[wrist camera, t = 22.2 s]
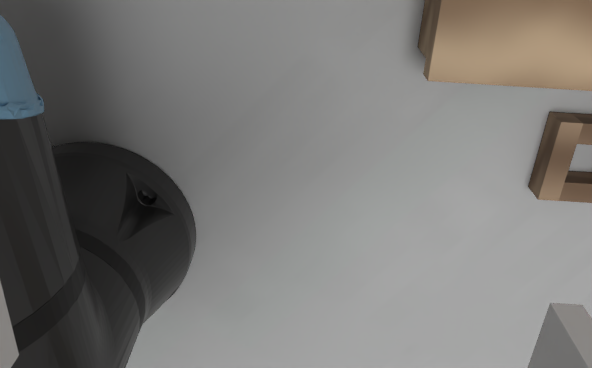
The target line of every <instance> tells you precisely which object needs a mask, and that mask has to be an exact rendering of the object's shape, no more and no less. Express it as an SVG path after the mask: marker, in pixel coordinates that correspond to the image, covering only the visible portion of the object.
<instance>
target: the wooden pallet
mask: <svg viewBox="0 0 592 368" xmlns="http://www.w3.org/2000/svg"><path fill="white" fill-rule="evenodd" d="M418 48H419V49H420V51H421V52H422V53H423V55H424V56H425V58H426V61H425V67H424V73H423V74H424V76H425V77H426V79H427V80H428V81H438V82H454V83H471V84H487V85H504V86H520V87H536V88H553V89H569V90H586V91H592V0H425V4H424V10H423V17H422V23H421V29H420V36H419V42H418ZM577 144H587V145H592V114H576V113H560V112H550V113H549V116H548V120H547V123H546V127H545V130H544V134H543V137H542V141H541V144H540V147H539V151H538V154H537V158H536V161H535V165H534V168H533V172H532V175H531V179H530V182H529V186H528V187H529V188H530V190H531V191H532V192H533V194H534V195H535V196H536V198H537V199H538V200H554V201H571V202H587V203H592V172H576V171H568V170H569V167H570V164H571V160H572V157H573V154H574V151H575V148H576V145H577Z"/></svg>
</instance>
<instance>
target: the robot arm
mask: <svg viewBox="0 0 592 368" xmlns="http://www.w3.org/2000/svg"><path fill="white" fill-rule="evenodd" d="M43 112H44V101H43V99H42V98H41V96H40V95H39V94H37V93H36V92H35V89H34V86H33V83H32V80H31V78H30V75H29V72H28V69H27V66H26V63H25V60H24V57H23V54H22V51H21V48H20V45H19V42H18V39H17V37H16V35H15V33H14V31H13V29H12V28H11V26H10V25H9V23H8V22H7V21H6V20H5V19H4V18H3V17H2V16H1V15H0V368H125V367H126V364H127V362H128V359H129V357H130V354H131V352H132V349H133V347H134V344H135V342H136V339H137V336H138V334H139V331H140V329H141V326H142V324H143V323H144V322H145V321H146V320H147V319H148V318H149V317H150V316H151V315H152V314H153V313H154V312H155V311H156V310H157V309H158V308H159V307H160V306H161V305H162V304H163V303H164V302H165V301H166V300H168V299H169V298H170V297H171V296H172V295H173V294H174V293H175V292H176V290H177V289H178V288H179V286H180V285H181V283H182V282H183V280H184V278H185V276H186V274H187V271H188V269H189V266H190V263H191V260H192V257H193V254H194V250H195V243H196V230H195V223H194V219H193V215H192V213H191V210H190V208H189V205H188V203H187V201H186V199H185V198H184V196H183V194H182V193H181V191H180V190H179V189H178V187H177V186H176V185H175V184H174V183H173V181H172V180H171V179H170V178H169V177H168V176H167V175H166V174H164V173H163V172H162V171H161V170H160V169H159V168H157V167H156V166H155V165H153V164H152V163H150V162H149V161H147V160H145V159H144V158H142V157H140V156H138V155H136V154H134V153H132V152H129V151H127V150H124V149H121V148H118V147H115V146H111V145H106V144H100V143H88V142H81V143H69V144H64V145H60V146H56V147H53V148H52V147H51V144H50V140H49V137H48V133H47V130H46V126H45V123H44V119H43V115H42V113H43ZM528 368H592V318H591V317H590V315H589V314H588V312H587V311H586V309H585V308H584V306H583V305H576V304H560V303H550V305H549V308H548V311H547V314H546V316H545V319H544V322H543V325H542V328H541V331H540V334H539V337H538V339H537V342H536V345H535V348H534V351H533V354H532V357H531V360H530V362H529V365H528Z"/></svg>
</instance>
